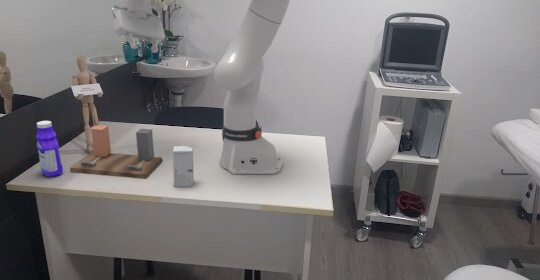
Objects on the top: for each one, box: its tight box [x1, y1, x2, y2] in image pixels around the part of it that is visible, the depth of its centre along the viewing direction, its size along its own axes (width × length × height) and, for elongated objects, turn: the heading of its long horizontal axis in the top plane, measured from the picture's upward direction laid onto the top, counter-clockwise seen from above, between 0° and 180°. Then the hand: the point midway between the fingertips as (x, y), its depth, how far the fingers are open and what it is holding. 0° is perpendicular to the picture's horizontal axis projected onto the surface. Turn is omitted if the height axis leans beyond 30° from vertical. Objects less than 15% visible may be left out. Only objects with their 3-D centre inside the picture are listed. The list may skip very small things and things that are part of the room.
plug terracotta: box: [90, 124, 112, 157], centre depth 142 cm, size 4×4×10 cm
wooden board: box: [69, 151, 163, 179], centre depth 138 cm, size 26×14×3 cm, turn 83°
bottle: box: [35, 120, 64, 178], centre depth 129 cm, size 7×6×17 cm
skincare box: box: [172, 145, 195, 188], centre depth 126 cm, size 6×4×12 cm
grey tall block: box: [135, 128, 155, 161], centre depth 140 cm, size 4×4×10 cm
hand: (145, 50), depth 136 cm, fingers open, 8 cm apart
